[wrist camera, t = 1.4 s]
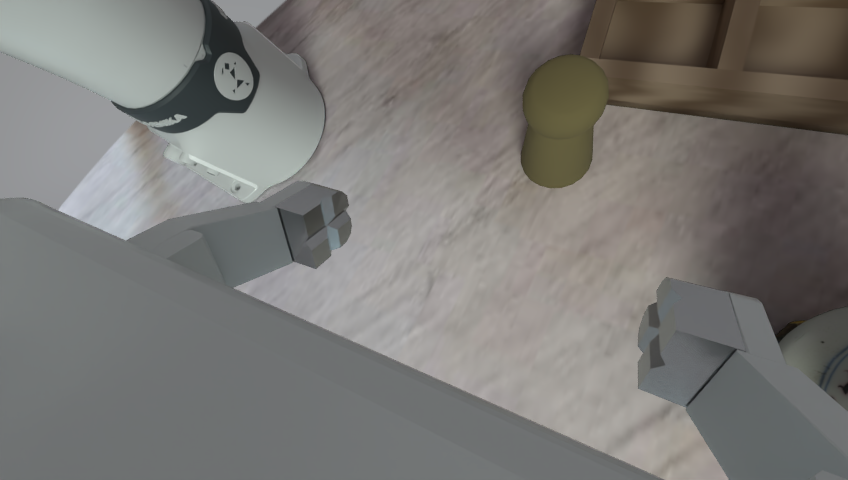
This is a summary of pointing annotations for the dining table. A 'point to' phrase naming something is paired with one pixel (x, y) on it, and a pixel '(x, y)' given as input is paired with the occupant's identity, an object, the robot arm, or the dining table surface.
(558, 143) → the olive round-topped post
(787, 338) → the apothecary jar
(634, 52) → the spice rack
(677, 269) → the dining table surface
